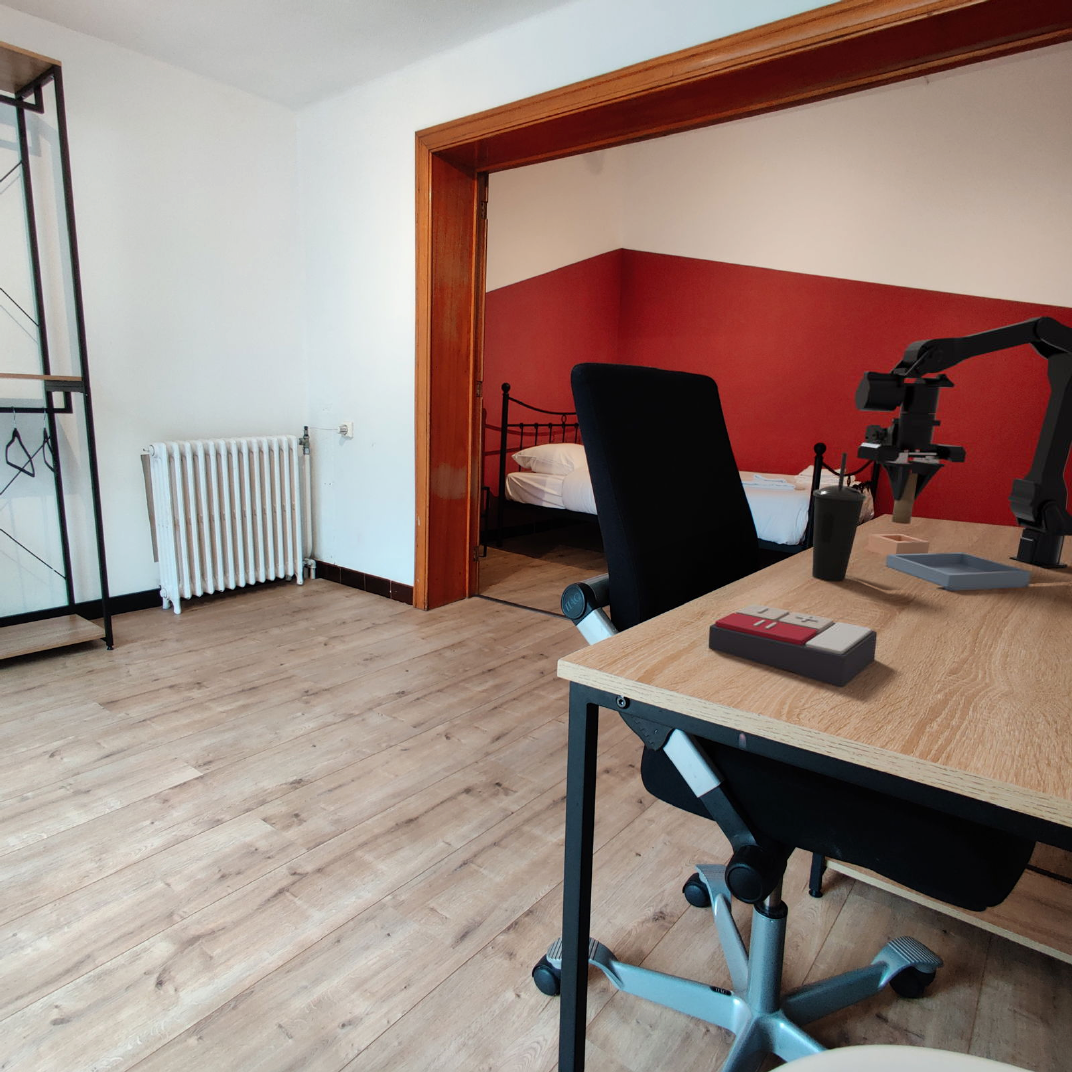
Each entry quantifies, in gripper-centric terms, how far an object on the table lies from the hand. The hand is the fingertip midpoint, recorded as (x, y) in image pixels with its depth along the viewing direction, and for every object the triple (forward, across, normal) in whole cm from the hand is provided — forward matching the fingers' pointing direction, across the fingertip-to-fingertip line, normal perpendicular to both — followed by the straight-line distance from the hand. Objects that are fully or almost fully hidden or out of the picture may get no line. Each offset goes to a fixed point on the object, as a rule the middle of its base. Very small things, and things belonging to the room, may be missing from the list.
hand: (904, 500), depth 127 cm
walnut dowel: (+4, 0, 0) cm, 4 cm away
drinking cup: (+11, +23, +11) cm, 28 cm away
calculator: (+11, +50, +39) cm, 64 cm away
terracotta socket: (+10, 0, 0) cm, 11 cm away
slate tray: (+10, +1, +14) cm, 18 cm away
